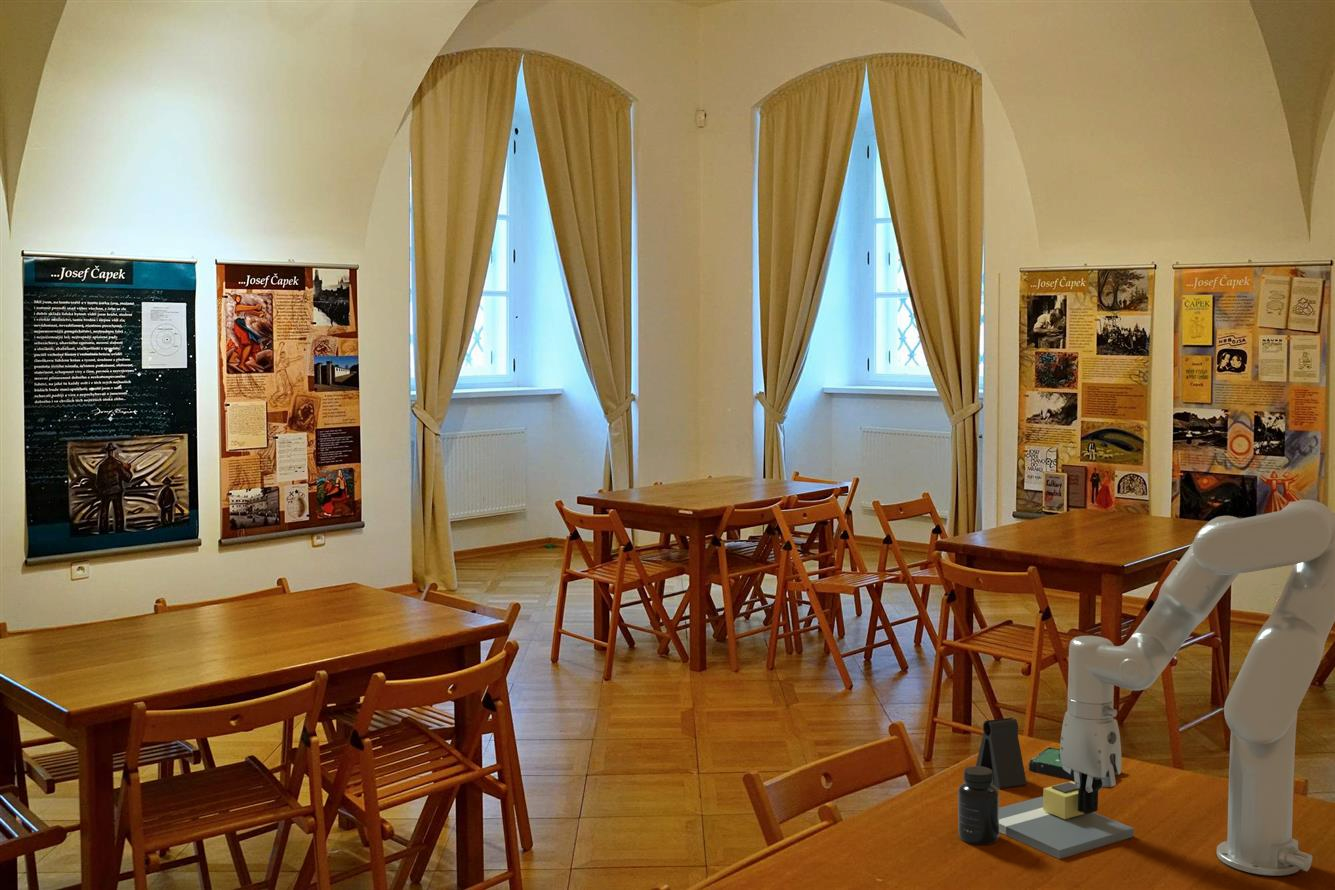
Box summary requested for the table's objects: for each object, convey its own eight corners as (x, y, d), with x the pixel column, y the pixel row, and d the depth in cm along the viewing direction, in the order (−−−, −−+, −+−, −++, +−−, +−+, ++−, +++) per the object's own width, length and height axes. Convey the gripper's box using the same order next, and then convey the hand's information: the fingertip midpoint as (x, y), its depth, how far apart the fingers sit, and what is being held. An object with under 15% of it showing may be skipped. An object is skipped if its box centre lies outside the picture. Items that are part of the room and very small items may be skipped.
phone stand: (1026, 786, 243) (1027, 724, 242) (999, 789, 241) (1000, 728, 240) (1000, 770, 252) (1001, 711, 251) (974, 774, 250) (974, 714, 249)
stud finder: (1092, 811, 225) (1093, 787, 224) (1064, 819, 221) (1065, 795, 221) (1070, 802, 229) (1071, 779, 229) (1043, 810, 226) (1043, 786, 225)
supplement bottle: (971, 827, 223) (972, 760, 222) (1006, 837, 218) (1007, 769, 217) (950, 838, 218) (950, 770, 217) (985, 849, 213) (985, 779, 212)
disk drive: (1120, 775, 250) (1048, 759, 260) (1121, 761, 250) (1048, 745, 259) (1101, 789, 242) (1027, 772, 252) (1102, 775, 242) (1028, 759, 251)
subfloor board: (1133, 836, 218) (1133, 828, 218) (1059, 859, 209) (1059, 850, 209) (1049, 802, 234) (1049, 794, 234) (977, 821, 225) (977, 813, 225)
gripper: (1140, 716, 215) (1137, 821, 217) (1071, 694, 228) (1069, 794, 229) (1110, 723, 211) (1107, 829, 213) (1042, 701, 224) (1039, 801, 226)
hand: (1087, 811), depth 221 cm, fingers closed
